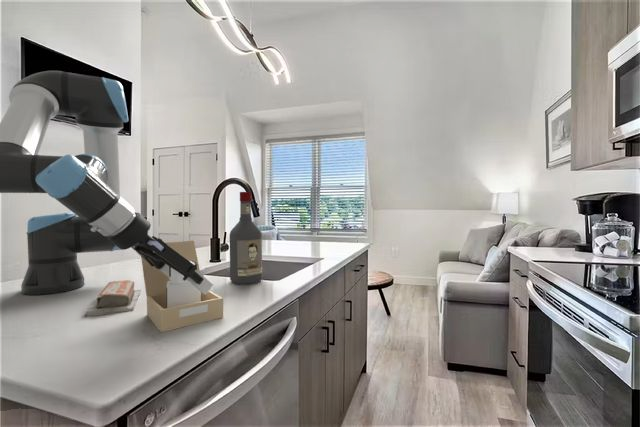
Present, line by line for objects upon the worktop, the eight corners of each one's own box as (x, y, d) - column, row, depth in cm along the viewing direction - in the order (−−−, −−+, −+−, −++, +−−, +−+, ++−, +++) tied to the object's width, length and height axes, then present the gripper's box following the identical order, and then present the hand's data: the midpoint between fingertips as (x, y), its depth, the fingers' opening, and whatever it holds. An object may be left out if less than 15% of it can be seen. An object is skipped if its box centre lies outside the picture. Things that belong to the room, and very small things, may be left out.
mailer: (141, 307, 82) (139, 244, 81) (194, 297, 90) (193, 240, 90) (161, 332, 66) (159, 254, 66) (223, 317, 75) (222, 248, 74)
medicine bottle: (167, 311, 77) (166, 260, 78) (198, 307, 80) (198, 258, 81) (166, 318, 71) (166, 263, 71) (201, 314, 74) (200, 261, 74)
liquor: (227, 281, 109) (226, 192, 108) (251, 276, 116) (250, 192, 114) (240, 286, 103) (239, 191, 102) (265, 281, 109) (264, 192, 108)
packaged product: (100, 281, 92) (140, 277, 96) (101, 297, 92) (140, 293, 96) (84, 297, 76) (133, 292, 80) (85, 318, 76) (134, 312, 80)
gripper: (89, 234, 71) (162, 289, 83) (129, 243, 56) (212, 309, 68) (115, 209, 75) (182, 266, 87) (160, 211, 59) (233, 279, 72)
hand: (195, 285), depth 78 cm, fingers open, 11 cm apart
